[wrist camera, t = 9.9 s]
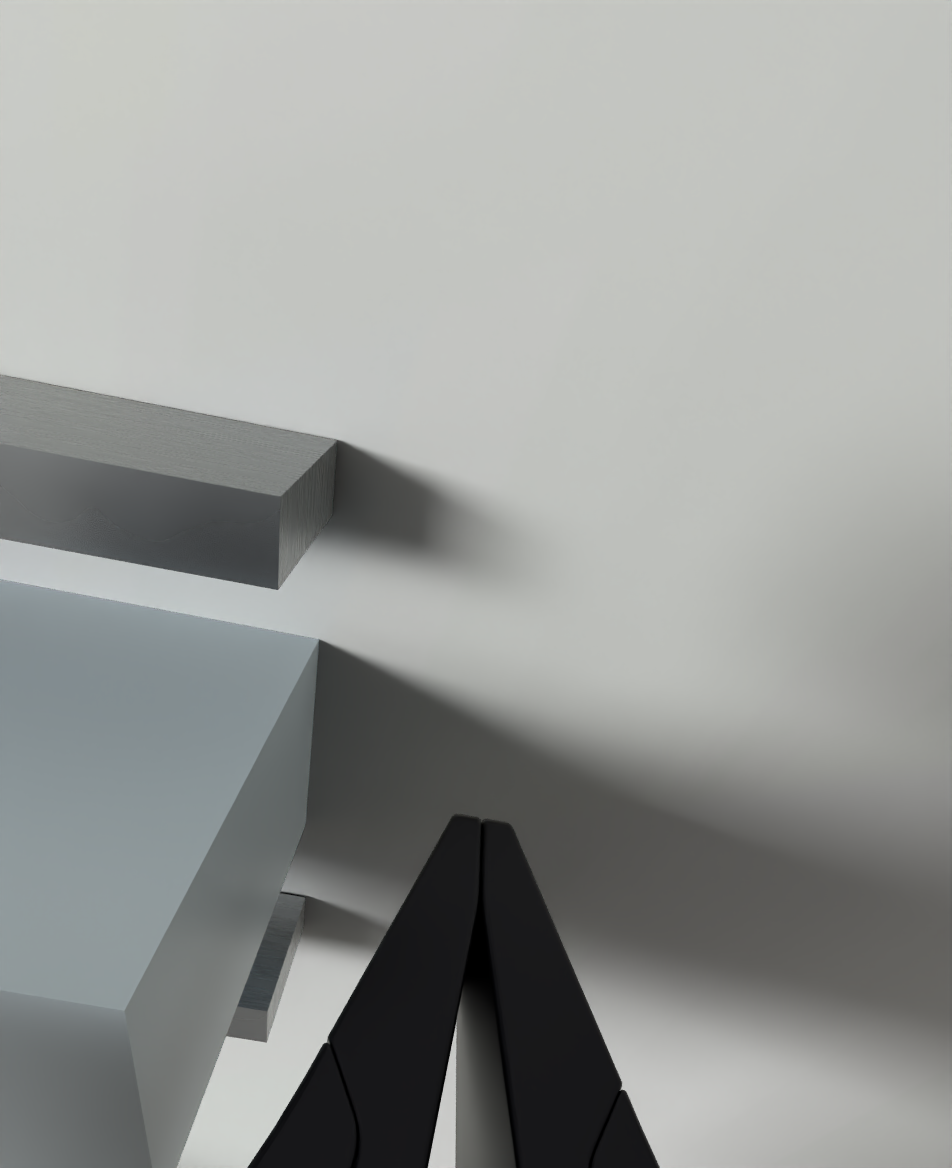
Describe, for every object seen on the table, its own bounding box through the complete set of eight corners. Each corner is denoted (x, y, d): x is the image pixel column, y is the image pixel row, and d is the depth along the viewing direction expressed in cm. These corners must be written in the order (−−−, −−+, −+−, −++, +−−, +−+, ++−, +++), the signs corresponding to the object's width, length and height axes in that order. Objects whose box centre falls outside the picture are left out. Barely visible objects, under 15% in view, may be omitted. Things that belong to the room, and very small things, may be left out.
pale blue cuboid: (320, 637, 9) (124, 1010, 4) (306, 821, 11) (160, 1211, 6) (-24, 572, 9) (-586, 892, 4) (23, 771, 11) (-331, 1137, 6)
